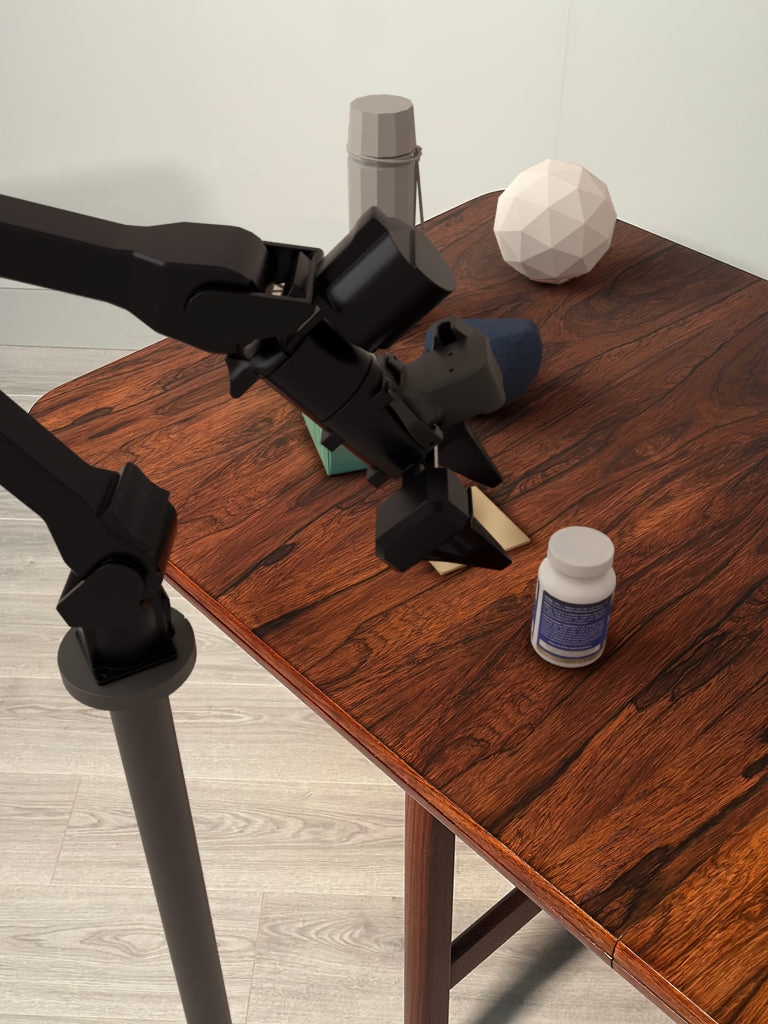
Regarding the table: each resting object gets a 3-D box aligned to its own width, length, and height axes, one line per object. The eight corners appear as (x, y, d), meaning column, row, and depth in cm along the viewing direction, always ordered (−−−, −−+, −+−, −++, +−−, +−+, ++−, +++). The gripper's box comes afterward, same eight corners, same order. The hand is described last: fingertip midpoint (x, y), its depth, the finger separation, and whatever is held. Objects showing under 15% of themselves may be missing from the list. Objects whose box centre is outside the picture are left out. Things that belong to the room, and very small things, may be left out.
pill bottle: (618, 658, 80) (637, 559, 73) (552, 679, 78) (566, 579, 72) (580, 610, 84) (595, 513, 78) (516, 629, 82) (527, 531, 76)
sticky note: (441, 575, 87) (441, 572, 87) (389, 516, 93) (389, 514, 93) (530, 542, 90) (530, 540, 90) (475, 488, 97) (475, 485, 97)
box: (327, 479, 98) (325, 411, 93) (296, 406, 108) (292, 341, 103) (402, 466, 99) (403, 399, 95) (364, 395, 110) (363, 331, 105)
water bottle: (366, 344, 118) (362, 119, 103) (340, 314, 124) (333, 97, 108) (438, 328, 121) (446, 107, 106) (410, 300, 127) (413, 86, 111)
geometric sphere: (516, 317, 134) (449, 223, 128) (579, 243, 139) (517, 149, 133) (594, 302, 122) (524, 198, 116) (659, 221, 127) (596, 118, 121)
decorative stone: (556, 422, 105) (566, 334, 99) (444, 441, 103) (447, 351, 97) (512, 365, 114) (519, 281, 108) (409, 381, 112) (410, 296, 106)
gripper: (434, 387, 56) (614, 546, 63) (429, 243, 71) (576, 384, 77) (296, 502, 61) (476, 638, 68) (319, 345, 76) (465, 470, 82)
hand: (502, 522), depth 74 cm, fingers open, 9 cm apart
